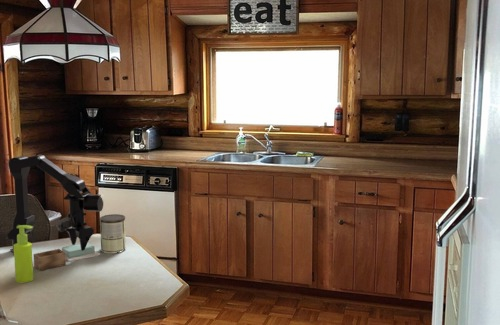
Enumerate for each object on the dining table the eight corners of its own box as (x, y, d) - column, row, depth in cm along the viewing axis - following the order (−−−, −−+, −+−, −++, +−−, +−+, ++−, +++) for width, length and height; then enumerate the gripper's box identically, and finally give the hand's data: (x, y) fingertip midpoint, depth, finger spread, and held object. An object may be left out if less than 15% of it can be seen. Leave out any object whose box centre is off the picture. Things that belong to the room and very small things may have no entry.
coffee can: (96, 249, 234) (95, 216, 232) (119, 244, 240) (118, 212, 238) (107, 255, 226) (106, 221, 224) (130, 250, 233) (129, 217, 230)
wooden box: (39, 270, 208) (38, 257, 207) (34, 266, 212) (33, 253, 212) (65, 265, 214) (65, 252, 213) (59, 261, 219) (59, 248, 218)
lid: (69, 258, 220) (68, 251, 220) (62, 253, 226) (61, 247, 226) (94, 252, 227) (94, 246, 227) (87, 248, 233) (87, 242, 232)
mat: (57, 253, 227) (57, 252, 227) (87, 247, 235) (87, 246, 235) (68, 261, 218) (68, 260, 218) (99, 255, 226) (99, 253, 226)
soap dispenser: (30, 283, 195) (27, 228, 192) (12, 282, 196) (9, 227, 193) (39, 277, 201) (36, 224, 198) (21, 276, 202) (18, 223, 199)
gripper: (48, 208, 226) (50, 245, 228) (66, 218, 212) (68, 257, 214) (74, 204, 233) (76, 240, 235) (93, 213, 219) (95, 251, 221)
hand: (78, 247), depth 226 cm, fingers open, 9 cm apart
